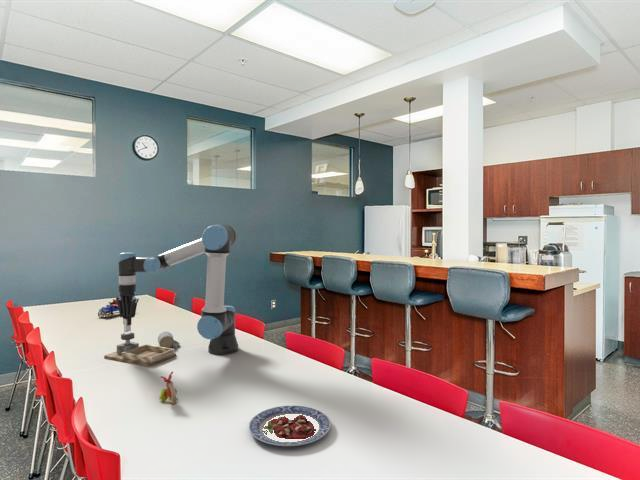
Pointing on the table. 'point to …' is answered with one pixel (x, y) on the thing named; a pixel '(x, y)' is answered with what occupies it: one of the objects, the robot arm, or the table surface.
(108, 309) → the toy truck
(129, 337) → the wheel
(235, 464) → the table surface
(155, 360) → the board
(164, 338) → the ceramic mug
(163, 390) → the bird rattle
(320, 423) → the ceramic plate
